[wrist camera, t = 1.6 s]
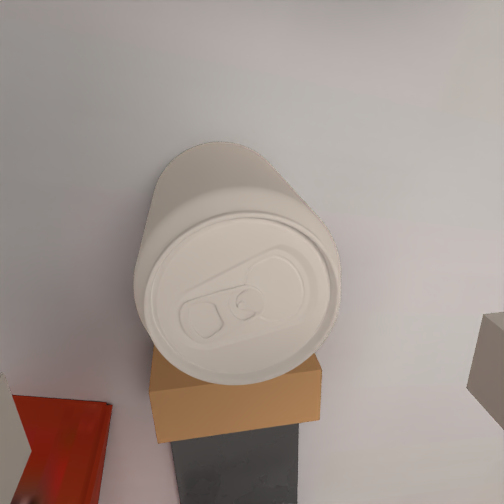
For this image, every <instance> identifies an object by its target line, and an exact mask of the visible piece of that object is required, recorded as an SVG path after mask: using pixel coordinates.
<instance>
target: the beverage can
mask: <svg viewBox="0 0 504 504" xmlns="http://www.w3.org/2000/svg"><path fill="white" fill-rule="evenodd" d="M133 290H134V299H135V304H136V308H137V311H138V314H139V317H140V319H141V321H142V323H143V325H144V327H145V329H146V331H147V332H148V334H149V335H150V337H151V339H152V341H153V343H154V345H155V346H156V348H157V349H158V350H159V352H160V353H161V354H162V355H163V356H164V357H165V359H166V360H168V361H169V362H170V363H171V364H172V365H173V366H175V367H176V368H178V369H179V370H181V371H182V372H184V373H186V374H188V375H190V376H192V377H194V378H197V379H199V380H202V381H206V382H210V383H215V384H221V385H247V384H254V383H259V382H263V381H267V380H270V379H273V378H276V377H278V376H281V375H283V374H285V373H287V372H289V371H291V370H292V369H294V368H296V367H297V366H299V365H300V364H302V363H303V362H304V361H305V360H307V359H308V358H309V357H310V356H311V355H312V354H313V353H314V352H315V351H316V350H317V349H318V348H319V347H320V346H321V345H322V343H323V342H324V341H325V339H326V338H327V336H328V335H329V333H330V331H331V329H332V327H333V325H334V323H335V320H336V318H337V315H338V311H339V306H340V300H341V265H340V259H339V254H338V251H337V247H336V245H335V242H334V240H333V238H332V236H331V234H330V232H329V230H328V229H327V227H326V226H325V224H324V223H323V222H322V221H321V219H320V218H319V217H318V216H317V215H316V214H315V213H314V211H313V210H312V209H311V208H310V207H309V206H308V205H307V204H306V203H305V202H304V200H303V199H302V198H301V197H300V196H299V195H298V194H297V193H296V192H295V191H294V190H293V188H292V187H291V186H290V185H289V184H288V183H287V182H286V181H285V180H284V179H283V177H282V176H281V175H280V174H279V173H278V172H277V171H276V170H275V169H274V168H273V166H272V165H271V164H270V163H269V162H268V161H267V160H266V159H265V158H263V157H262V156H261V155H260V154H258V153H257V152H255V151H253V150H251V149H249V148H247V147H245V146H242V145H239V144H235V143H229V142H211V143H205V144H201V145H198V146H195V147H193V148H190V149H188V150H186V151H185V152H183V153H181V154H180V155H179V156H177V157H176V158H175V159H174V160H173V161H172V162H171V163H170V164H169V165H168V166H167V167H166V168H165V170H164V171H163V173H162V174H161V176H160V178H159V180H158V182H157V184H156V187H155V190H154V194H153V198H152V202H151V206H150V210H149V214H148V218H147V222H146V226H145V230H144V233H143V237H142V241H141V245H140V249H139V253H138V257H137V261H136V266H135V271H134V280H133Z"/></svg>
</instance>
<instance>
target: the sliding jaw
mask: <svg viewBox="0 0 504 504" xmlns="http://www.w3.org/2000/svg"><path fill="white" fill-rule="evenodd" d="M321 379H322V369H321V366H320V364H319V362H318V360H317V358H316V355H315V353H313V354H312V355H311V356H310V357H309V358H308V359H307V360H305V361H304V362H303V363H302V364H300V365H299V366H297V367H296V368H294V369H292V370H291V371H289V372H287V373H285V374H283V375H281V376H278V377H276V378H273V379H270V380H267V381H263V382H259V383H254V384H247V385H221V384H215V383H210V382H206V381H202V380H199V379H197V378H194V377H192V376H190V375H188V374H186V373H184V372H182V371H181V370H179V369H178V368H176V367H175V366H173V365H172V364H171V363H170V362H169V361H168V360H166V359H165V357H164V356H163V355H162V354H161V353H160V352H159V350H158V349H157V348H156V346H155V345H154V349H153V358H152V367H151V376H150V385H149V397H150V402H151V408H152V414H153V419H154V425H155V430H156V436H157V442H158V443H165V442H172V441H179V440H186V439H193V438H200V437H206V436H213V435H220V434H227V433H234V432H241V431H248V430H254V429H261V428H268V427H275V426H282V425H289V424H295V423H302V422H309V421H316V420H320V400H321Z"/></svg>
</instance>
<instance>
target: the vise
mask: <svg viewBox="0 0 504 504" xmlns="http://www.w3.org/2000/svg"><path fill="white" fill-rule="evenodd" d="M298 431H299V423H295V424H289V425H282V426H275V427H268V428H261V429H254V430H248V431H241V432H234V433H227V434H220V435H213V436H206V437H200V438H193V439H186V440H179V441H172V442H171V446H172V452H173V459H174V465H175V471H176V478H177V484H178V490H179V496H180V503H181V504H297V483H298Z"/></svg>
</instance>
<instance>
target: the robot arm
mask: <svg viewBox="0 0 504 504" xmlns="http://www.w3.org/2000/svg"><path fill="white" fill-rule="evenodd" d="M466 388H467V389H468V390H469V392H470V393H471V394H472V395H473V396H474V397H475V398H476V399H477V400H478V402H479V403H480V404H481V405H482V406H483V407H484V408H485V409H486V411H487V412H488V413H489V414H490V415H491V416H492V417H493V418H494V419H495V421H496V422H497V423H498V424H499V425H500V426H501V427H502V428H503V430H504V312H499V313H490V314H483V318H482V322H481V327H480V331H479V335H478V340H477V344H476V348H475V353H474V357H473V361H472V366H471V370H470V374H469V379H468V383H467V387H466ZM30 454H31V448H30V445H29V442H28V439H27V437H26V434H25V431H24V428H23V425H22V422H21V420H20V417H19V414H18V411H17V408H16V406H15V403H14V400H13V397H12V394H11V392H10V389H9V386H8V383H7V380H6V377H5V375H4V373H0V504H10V503H11V501H12V498H13V496H14V493H15V491H16V488H17V486H18V483H19V481H20V478H21V476H22V474H23V471H24V469H25V466H26V464H27V461H28V459H29V456H30Z"/></svg>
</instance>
